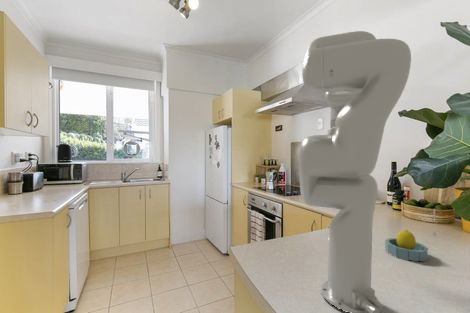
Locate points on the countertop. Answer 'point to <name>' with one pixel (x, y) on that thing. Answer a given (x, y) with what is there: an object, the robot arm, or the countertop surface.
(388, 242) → the bowl
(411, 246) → the lemon
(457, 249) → the countertop surface
